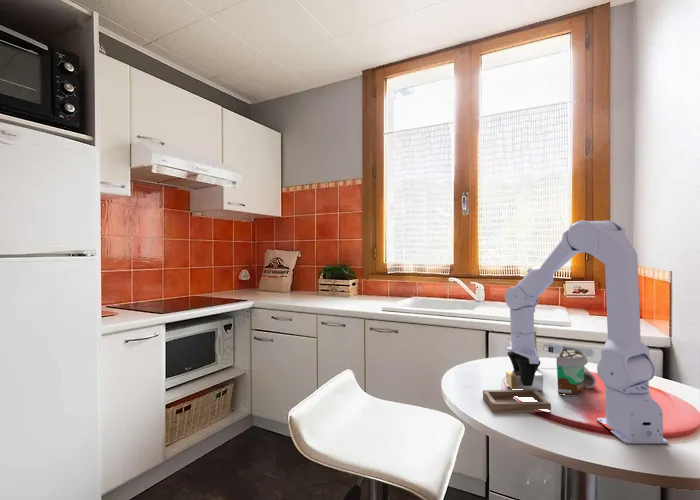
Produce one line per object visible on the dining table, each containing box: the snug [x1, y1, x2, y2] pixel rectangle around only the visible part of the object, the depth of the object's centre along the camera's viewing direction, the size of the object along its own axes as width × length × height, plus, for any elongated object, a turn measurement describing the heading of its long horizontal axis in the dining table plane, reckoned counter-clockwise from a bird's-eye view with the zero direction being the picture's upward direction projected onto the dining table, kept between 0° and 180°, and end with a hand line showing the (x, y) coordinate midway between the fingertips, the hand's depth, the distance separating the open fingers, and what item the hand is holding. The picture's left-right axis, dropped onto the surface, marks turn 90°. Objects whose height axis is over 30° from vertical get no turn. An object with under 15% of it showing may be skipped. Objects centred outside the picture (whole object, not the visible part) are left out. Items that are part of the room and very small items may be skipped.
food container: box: [556, 345, 588, 396], centre depth 95 cm, size 12×6×10 cm, turn 143°
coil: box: [583, 366, 597, 389], centre depth 105 cm, size 5×5×18 cm
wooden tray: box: [482, 389, 552, 414], centre depth 88 cm, size 8×13×2 cm, turn 86°
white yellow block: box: [505, 369, 544, 391], centre depth 98 cm, size 4×8×4 cm, turn 86°
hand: (523, 382), depth 98 cm, fingers closed on white yellow block, 4 cm apart
